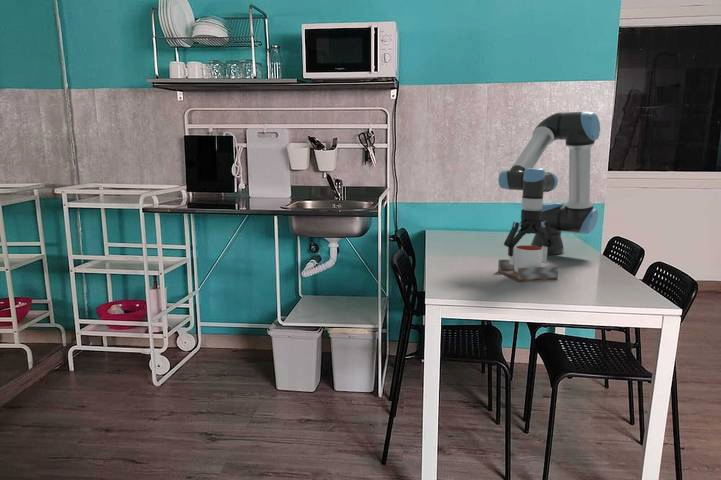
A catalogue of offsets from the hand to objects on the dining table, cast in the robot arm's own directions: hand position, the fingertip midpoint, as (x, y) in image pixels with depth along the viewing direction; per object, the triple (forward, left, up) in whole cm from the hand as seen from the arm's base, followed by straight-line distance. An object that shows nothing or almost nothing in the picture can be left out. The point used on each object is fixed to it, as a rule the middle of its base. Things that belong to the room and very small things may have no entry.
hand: (527, 263), depth 208 cm
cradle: (0, 0, -5) cm, 5 cm away
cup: (0, 0, -4) cm, 4 cm away
